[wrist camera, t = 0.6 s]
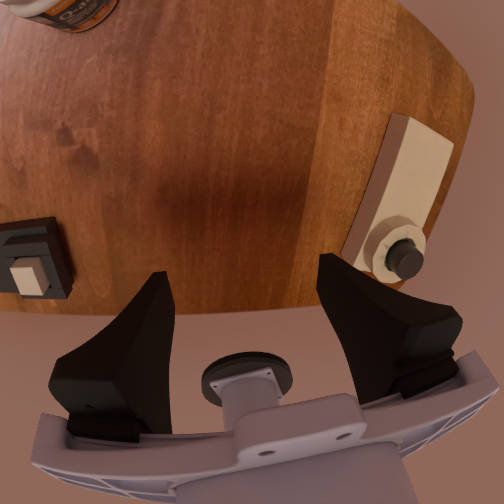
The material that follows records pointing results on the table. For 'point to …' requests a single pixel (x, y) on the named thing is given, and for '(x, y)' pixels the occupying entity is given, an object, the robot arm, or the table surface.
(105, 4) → the pill bottle
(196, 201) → the table surface
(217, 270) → the table surface
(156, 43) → the table surface
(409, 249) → the dial knob
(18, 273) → the switch
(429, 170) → the dial base
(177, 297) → the table surface
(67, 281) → the power strip
